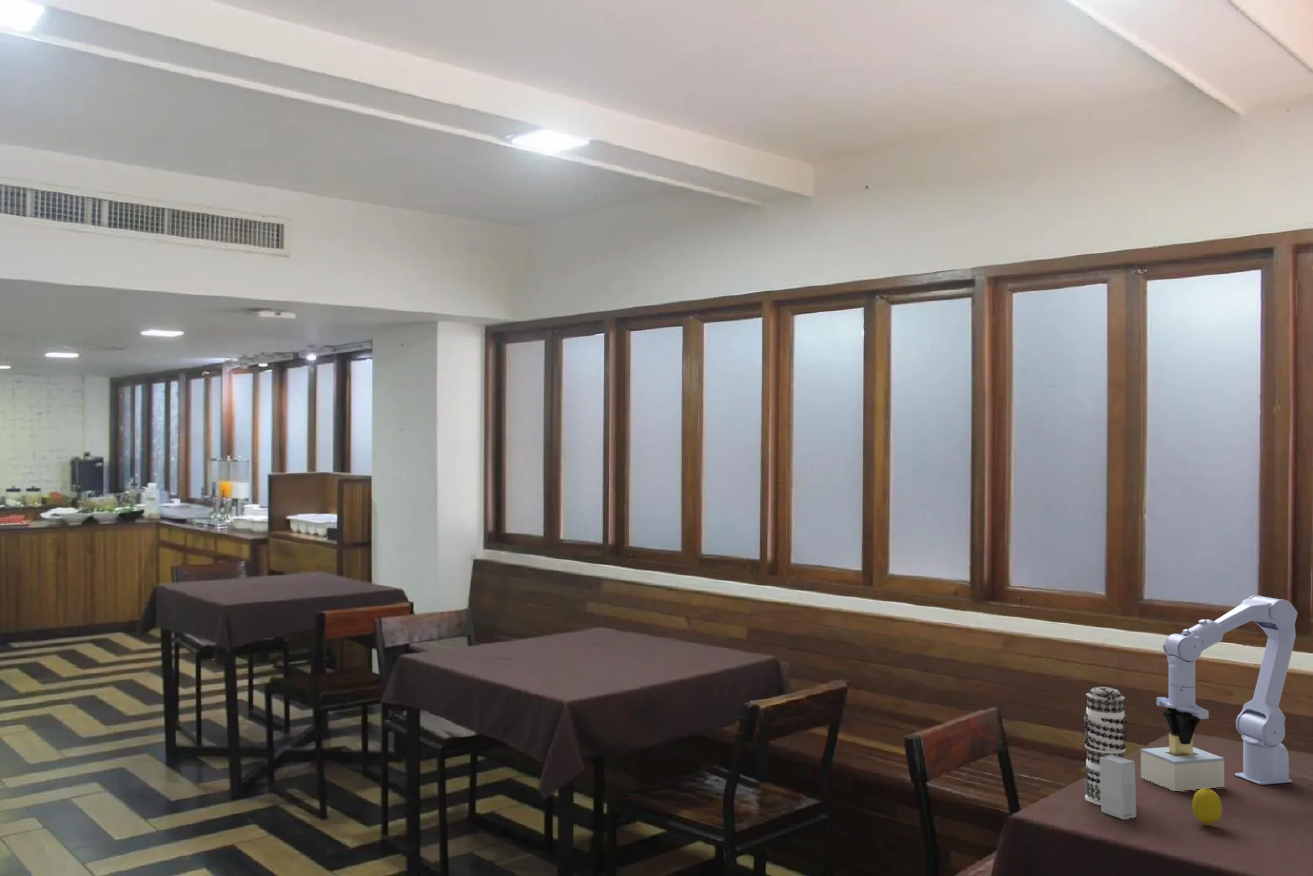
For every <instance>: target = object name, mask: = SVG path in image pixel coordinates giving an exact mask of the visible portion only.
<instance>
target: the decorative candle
mask: <svg viewBox="0 0 1313 876" xmlns="http://www.w3.org/2000/svg"><path fill="white" fill-rule="evenodd" d="M1085 696H1087V700H1086V701H1087V702H1086V703H1087V706H1086V708H1085V709H1086V710H1085V713H1086V714H1085V715H1084V716H1083V721H1084V724H1083V729H1085V731H1084V735H1083V736H1084V737H1085V739H1084V741H1083V743H1084V747H1085V748H1086V749H1087V751H1086V753H1087V754H1086V755H1087V758H1086V760H1085V762H1086V764H1085V765H1086V766H1085V767H1084V771H1085V772H1086V773H1085V774H1084V777H1085V778H1086V780H1085V781H1084V782H1083V783H1084V787H1085V788H1084V789H1083V791H1084V793H1085V796H1084V799H1085V801H1087V802H1089V803H1091V802H1092V803H1091V804H1094V805H1097V806H1101V783H1100V757H1103V756H1108V755H1114V756H1118V757H1121V758H1124V753H1125V752H1127V751H1126V750H1127V745H1126V744H1124V741H1126V740H1127V739H1128V737H1127V736H1126V735H1125V734H1126V733H1127V732H1128V730H1127V729H1126V728H1125V727H1124V726H1125V725H1127V724H1128V722H1129V721H1128V720H1127V719H1126V718H1127V715H1126V713H1125V710H1124V702H1125V701H1124V699H1125V698H1126V697H1125V696H1123V695H1122V693H1121V692H1120V691H1119V690H1118V689H1117V688H1113V687H1107V686H1095V687H1092V688H1090V691H1089V692H1087V693H1085Z"/></svg>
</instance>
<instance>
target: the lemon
mask: <svg viewBox="0 0 1313 876" xmlns="http://www.w3.org/2000/svg"><path fill="white" fill-rule="evenodd" d="M1191 804H1192V805H1191V806H1192V807H1191V808H1192V811H1193V814H1194V816H1195V818H1196V819H1198V821H1200V822H1202V823H1203V825H1205V826H1207V827H1208V826H1210V825H1211V824H1214V823H1216V822H1218V821H1219V820H1220V818H1221V816H1222V813H1223V806H1222V805H1223V804H1222V801H1221V798H1220V796H1219V794H1217V793H1216V791H1214V790H1213V789H1209V788H1208V787H1205V788H1204V789H1200V790H1196V792H1195V793H1194V795H1193V798H1192V803H1191Z"/></svg>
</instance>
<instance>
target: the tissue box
mask: <svg viewBox="0 0 1313 876" xmlns="http://www.w3.org/2000/svg"><path fill="white" fill-rule="evenodd" d="M1142 778H1143V779H1142ZM1140 779H1142V780H1144V779H1145V780H1144V781H1147V780H1148V781H1147V782H1149V781H1151V782H1150V783H1152V782H1153V783H1152V784H1154V783H1155V784H1154V785H1156V784H1158V785H1157V786H1159V785H1160V786H1159V787H1161V786H1164V787H1167V788H1169V789H1170V790H1169V791H1171V790H1173V791H1181V792H1184V791H1183V790H1193V791H1195V790H1194V789H1204V788H1205V787H1208V788H1216V787H1224V788H1225V758H1224V757H1222V756H1219V755H1217V754H1214V753H1211V752H1208V751H1206V750H1203V749H1200V748H1197V747H1194V746H1193V755H1187V756H1173V755H1170V754H1169V746H1163V747H1153V748H1152V747H1149V748H1141V749H1140ZM1164 787H1163V788H1164ZM1173 791H1172V792H1173Z"/></svg>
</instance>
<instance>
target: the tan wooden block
mask: <svg viewBox="0 0 1313 876" xmlns="http://www.w3.org/2000/svg"><path fill="white" fill-rule="evenodd" d="M1193 741H1194V739H1193V736H1192V740H1191V743H1190V744H1181V739H1180V733H1178V734H1172V733H1169V734H1168V747H1169V754H1170V755H1173V756H1187V755H1193V747H1194V742H1193Z"/></svg>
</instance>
